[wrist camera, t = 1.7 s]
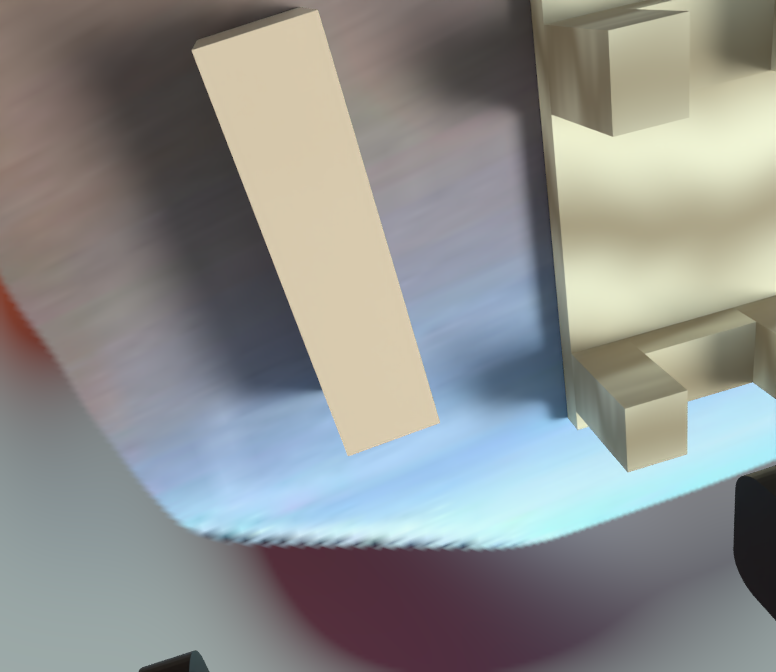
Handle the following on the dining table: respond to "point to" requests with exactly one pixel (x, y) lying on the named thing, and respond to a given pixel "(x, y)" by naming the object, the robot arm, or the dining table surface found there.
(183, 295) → the dining table surface
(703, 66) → the rack
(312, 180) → the clay bar
